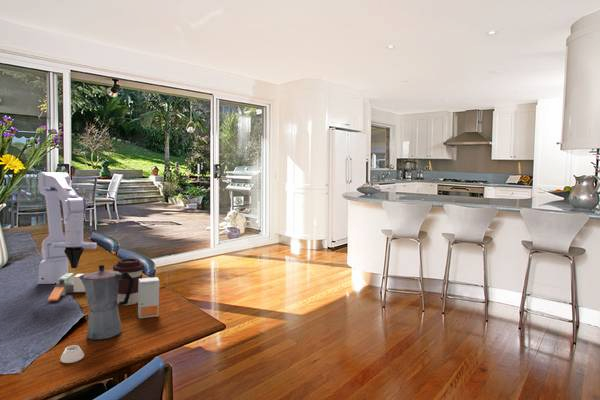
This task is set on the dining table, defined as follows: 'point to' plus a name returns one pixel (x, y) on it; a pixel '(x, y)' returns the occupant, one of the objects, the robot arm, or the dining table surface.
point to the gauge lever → (56, 292)
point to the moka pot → (104, 302)
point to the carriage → (78, 284)
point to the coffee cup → (135, 272)
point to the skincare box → (148, 297)
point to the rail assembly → (68, 283)
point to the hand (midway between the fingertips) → (74, 267)
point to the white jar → (72, 354)
